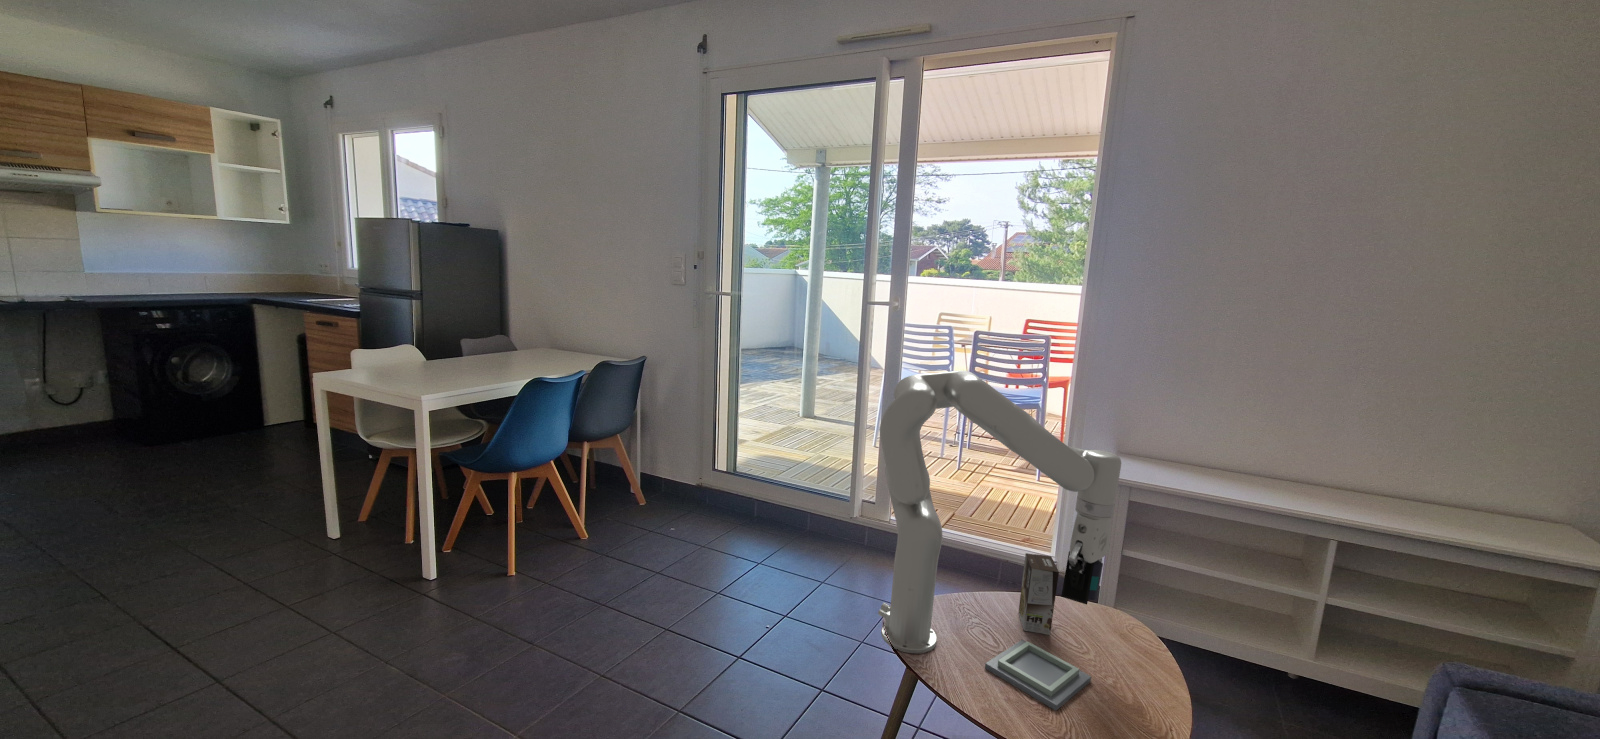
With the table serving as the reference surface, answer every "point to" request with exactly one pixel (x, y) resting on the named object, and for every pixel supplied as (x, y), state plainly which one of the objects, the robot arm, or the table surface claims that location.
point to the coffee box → (1038, 593)
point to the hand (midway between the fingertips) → (1083, 582)
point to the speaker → (1090, 582)
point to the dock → (1039, 673)
